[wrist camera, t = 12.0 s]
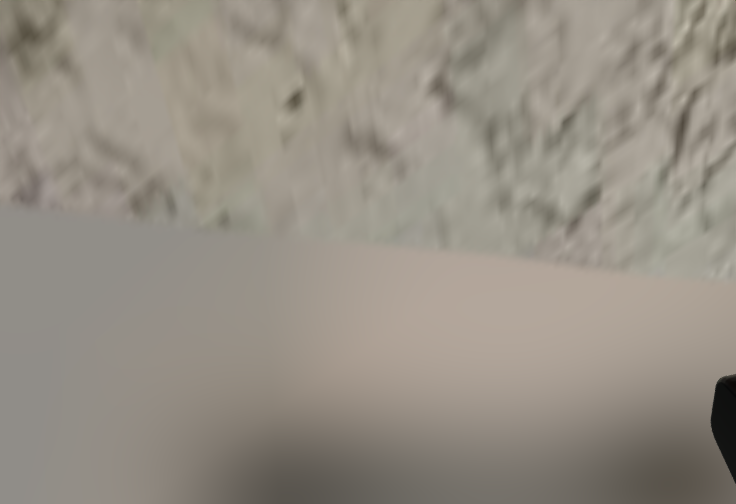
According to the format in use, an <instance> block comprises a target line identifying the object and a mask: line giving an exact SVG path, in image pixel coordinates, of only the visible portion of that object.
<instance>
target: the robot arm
mask: <svg viewBox="0 0 736 504" xmlns="http://www.w3.org/2000/svg"><path fill="white" fill-rule="evenodd" d="M711 428H712V432H713V435H714V438H715V440H716V443H717V445H718V447H719V449H720V451H721V453H722V456H723V458H724V460H725V462H726V464H727V466H728V468H729V471H730V473H731V475H732V477H733V479H734V481H735V484H736V374H734V375H729V376H724V377H722V378H720V379H719V380H718V382H717V384H716V388H715V394H714V401H713V407H712V414H711Z"/></svg>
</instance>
